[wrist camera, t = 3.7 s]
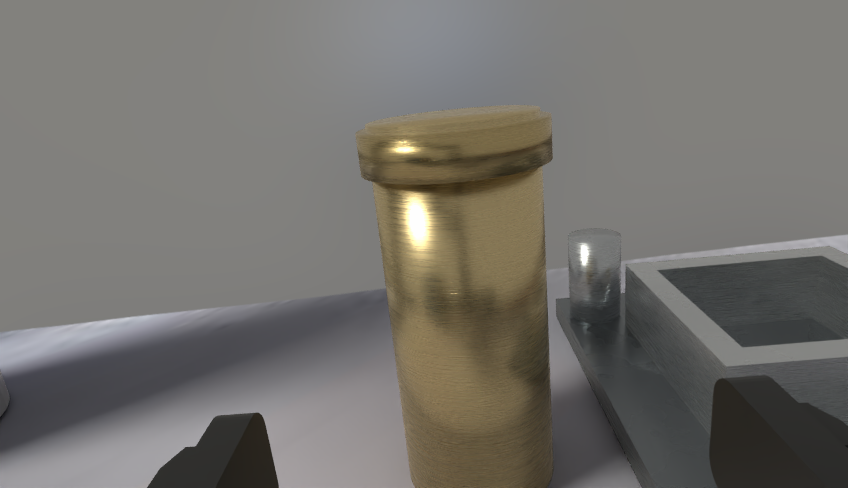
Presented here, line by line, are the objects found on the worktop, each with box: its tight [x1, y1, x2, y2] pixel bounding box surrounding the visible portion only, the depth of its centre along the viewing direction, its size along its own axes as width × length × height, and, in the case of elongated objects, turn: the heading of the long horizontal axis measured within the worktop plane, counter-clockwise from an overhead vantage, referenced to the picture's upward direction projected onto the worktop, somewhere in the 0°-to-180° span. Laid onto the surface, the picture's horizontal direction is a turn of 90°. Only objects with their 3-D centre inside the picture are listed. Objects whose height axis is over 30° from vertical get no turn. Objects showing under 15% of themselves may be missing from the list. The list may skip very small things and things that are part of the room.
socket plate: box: [556, 229, 848, 488], centre depth 21 cm, size 14×16×5 cm
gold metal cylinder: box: [356, 105, 553, 488], centre depth 18 cm, size 6×6×12 cm
